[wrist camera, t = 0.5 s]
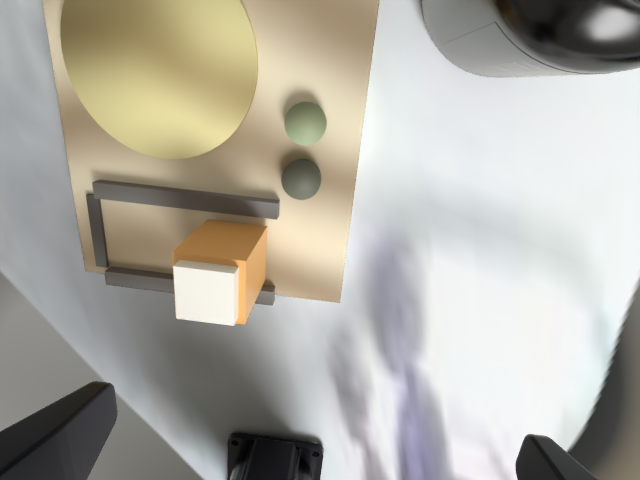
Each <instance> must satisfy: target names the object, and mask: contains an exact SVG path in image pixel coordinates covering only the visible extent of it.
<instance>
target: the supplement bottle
mask: <svg viewBox="0 0 640 480" xmlns="http://www.w3.org/2000/svg"><path fill="white" fill-rule="evenodd" d="M422 10H423V16H424V20H425V24H426V27H427V30H428V32H429V34H430V37H431V39H432V40H433V42H434V44H435V45H436V47H437V48H438V49H439V51H440V52H441V53H442V54H443V55H444V56H445V57H446V58H447V59H448V60H449V61H450V62H451V63H453V64H454V65H456V66H457V67H459V68H461V69H463V70H465V71H467V72H470V73H472V74H476V75H480V76H486V77H529V76H558V75H587V74H603V73H613V72H620V71H626V70H632V69H636V68H640V0H422Z"/></svg>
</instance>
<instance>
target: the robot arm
mask: <svg viewBox="0 0 640 480" xmlns="http://www.w3.org/2000/svg"><path fill="white" fill-rule="evenodd" d="M116 418H117V404H116V397H115V389H114V386H113V385H112V384H111V383H106V382H98V381H95V382H91V383H89V384H87V385H85V386H84V387H82V388H80V389H78V390H76V391H74V392H73V393H71V394H69V395H67V396H65V397H63V398H61V399H59V400H58V401H56V402H54V403H52V404H50V405H48V406H46V407H45V408H43V409H41V410H39V411H37V412H36V413H34V414H32V415H30V416H28V417H26V418H24V419H23V420H21V421H19V422H17V423H15V424H13V425H12V426H10V427H8V428H6V429H4V430H2V431H1V432H0V480H87V478H88V476H89V474H90V472H91V470H92V468H93V466H94V464H95V462H96V460H97V458H98V456H99V454H100V452H101V450H102V448H103V446H104V444H105V442H106V440H107V438H108V436H109V434H110V432H111V430H112V428H113V426H114V424H115V421H116ZM323 452H324V449H323V447H322V446H321V445H319V444H315V443H308V442H301V441H293V440H286V439H279V438H272V437H265V436H258V435H250V434H243V433H232V434H231V435H230V437H229V439H228V480H320V475H321V468H322V461H323ZM516 474H517V478H518V480H598V479H597V478H596V477H594V476H593V475H592V474H591V473H590V472H589V471H588V470H586V469H585V468H584V467H583V466H582V465H581V464H580V463H578V462H577V461H576V460H575V459H574V458H573V457H571V456H570V455H569V454H568V453H567V452H566V451H565V450H563V449H562V448H561V447H560V446H559V445H558V444H556V443H555V442H554V441H553V440H552V439H550V438H549V437H547V436H542V435H534V434H528V435H527V436H526V437H525V438H524V441H523V443H522V446H521V449H520V452H519V454H518V457H517V460H516Z"/></svg>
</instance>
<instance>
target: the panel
mask: <svg viewBox="0 0 640 480" xmlns="http://www.w3.org/2000/svg"><path fill="white" fill-rule="evenodd" d="M42 2H43V8H44V14H45V20H46V27H47V33H48V39H49V46H50V52H51V58H52V64H53V71H54V77H55V83H56V90H57V96H58V102H59V108H60V115H61V121H62V127H63V134H64V140H65V146H66V152H67V159H68V165H69V171H70V177H71V184H72V190H73V196H74V203H75V209H76V215H77V221H78V228H79V234H80V240H81V247H82V253H83V259H84V265H85V271H88V272H96V273H104V274H105V280H106V285H113V286H121V287H129V288H137V289H145V290H153V291H161V292H169V293H174V277H173V261H172V251H174V250H175V249H176V248H177V247H178V246H179V245H180V244H181V243H182V242H183V241H184V240H185V239H186V238H188V237H189V236H190V235H191V234H192V233H193V232H194V231H195V230H196V229H197V228H198V227H199V226H200V225H202V224H203V223H204V222H205V221H206V220H207V219H211V220H220V221H229V222H237V223H246V224H254V225H263V226H267V249H266V272H265V281H264V284H263V286H262V288H261V290H260V292H259V295H258V297H257V299H256V301H255V303H256V304H264V305H273V303H274V300H275V295H281V296H289V297H297V298H305V299H313V300H321V301H329V302H337V303H340V297H341V290H342V282H343V274H344V267H345V259H346V251H347V244H348V236H349V229H350V221H351V213H352V206H353V198H354V190H355V183H356V175H357V168H358V160H359V152H360V145H361V137H362V129H363V122H364V114H365V107H366V99H367V91H368V84H369V76H370V68H371V61H372V53H373V45H374V38H375V30H376V23H377V15H378V7H379V0H42Z"/></svg>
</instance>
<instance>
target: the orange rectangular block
mask: <svg viewBox="0 0 640 480" xmlns="http://www.w3.org/2000/svg"><path fill="white" fill-rule="evenodd" d="M266 249H267V226H263V225H254V224H246V223H237V222H229V221H220V220H211V219H207V220H206V221H205V222H204V223H203V224H202V225H200V226H199V227H198V228H197V229H196V230H195V231H194V232H193V233H192V234H191V235H190V236H189V237H188V238H186V239H185V240H184V241H183V242H182V243H181V244H180V245H179V246H178V247H177V248H176V249H175V250H174V251H172V261H173V277H174V293H175V310H176V319H183V320H191V321H199V322H207V323H215V324H222V325H230V326H234V325H235V323H237V324H245V323H246V321H247V319H248V317H249V315H250V312H251V310H252V308H253V306H254V304H255V301H256V299H257V297H258V295H259V292H260V290H261V288H262V286H263V284H264V281H265V272H266Z"/></svg>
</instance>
